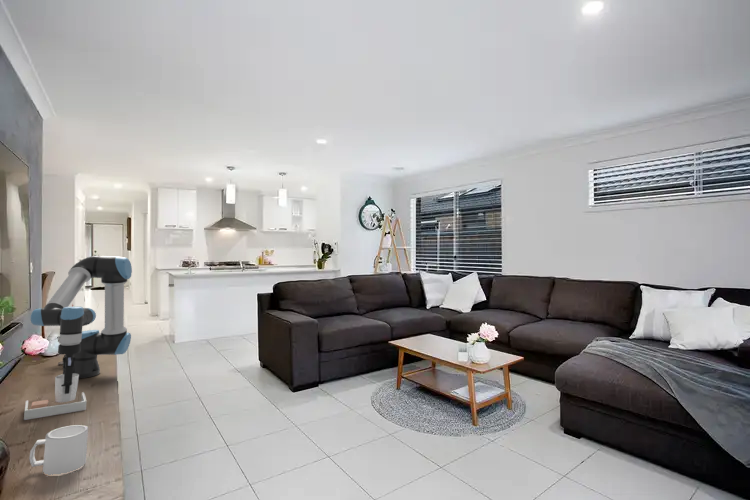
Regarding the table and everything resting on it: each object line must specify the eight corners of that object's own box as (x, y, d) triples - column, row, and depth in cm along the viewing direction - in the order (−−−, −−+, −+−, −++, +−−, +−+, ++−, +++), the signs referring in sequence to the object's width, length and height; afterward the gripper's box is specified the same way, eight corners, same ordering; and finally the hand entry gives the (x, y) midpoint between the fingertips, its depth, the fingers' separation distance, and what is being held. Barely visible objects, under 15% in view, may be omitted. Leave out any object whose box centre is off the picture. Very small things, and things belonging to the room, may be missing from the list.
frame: (25, 409, 159) (25, 400, 159) (83, 400, 171) (84, 392, 172) (23, 420, 149) (24, 410, 149) (85, 409, 161) (86, 401, 161)
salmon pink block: (31, 411, 157) (32, 401, 157) (47, 409, 160) (48, 399, 160) (30, 415, 153) (31, 405, 153) (47, 413, 156) (47, 403, 156)
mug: (22, 482, 109) (25, 443, 109) (33, 465, 118) (36, 429, 118) (82, 472, 115) (85, 435, 116) (88, 456, 124) (91, 423, 125)
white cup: (63, 404, 158) (65, 379, 159) (48, 401, 160) (50, 377, 160) (81, 398, 166) (83, 374, 167) (66, 395, 168) (68, 372, 168)
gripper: (57, 340, 169) (53, 393, 168) (59, 349, 154) (54, 407, 153) (79, 338, 174) (75, 390, 173) (82, 347, 159) (78, 403, 158)
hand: (65, 398), depth 163 cm, fingers closed on white cup, 7 cm apart
